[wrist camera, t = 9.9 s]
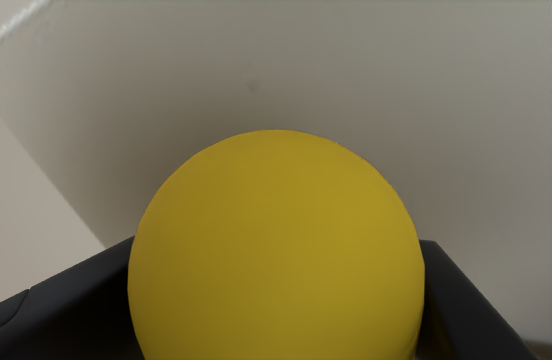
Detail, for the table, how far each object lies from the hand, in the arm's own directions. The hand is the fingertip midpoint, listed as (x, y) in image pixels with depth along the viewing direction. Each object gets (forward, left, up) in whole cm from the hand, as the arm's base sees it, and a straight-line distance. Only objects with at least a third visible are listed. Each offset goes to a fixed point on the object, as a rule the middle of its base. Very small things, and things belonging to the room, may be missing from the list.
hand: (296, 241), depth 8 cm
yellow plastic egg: (0, 0, -1) cm, 1 cm away
